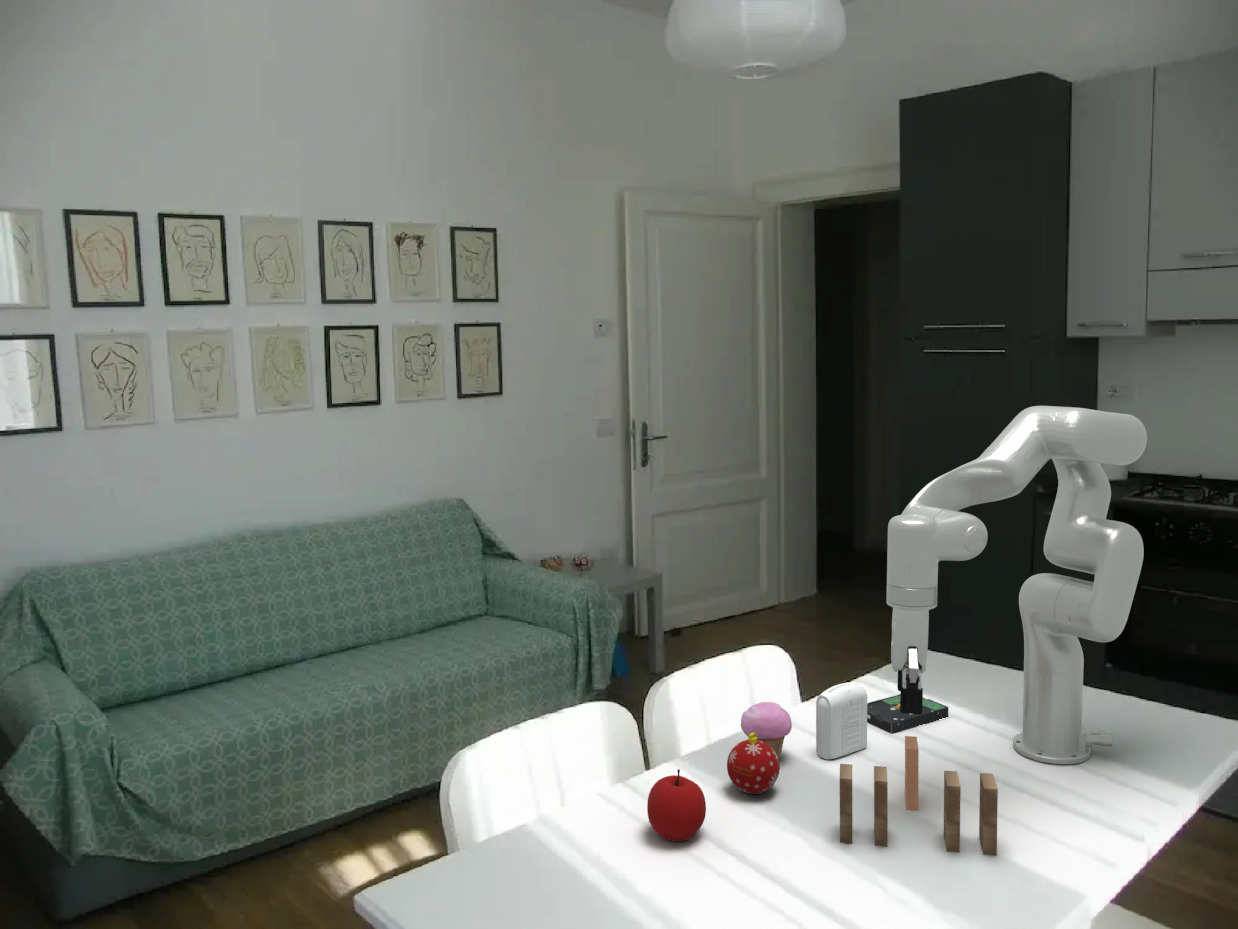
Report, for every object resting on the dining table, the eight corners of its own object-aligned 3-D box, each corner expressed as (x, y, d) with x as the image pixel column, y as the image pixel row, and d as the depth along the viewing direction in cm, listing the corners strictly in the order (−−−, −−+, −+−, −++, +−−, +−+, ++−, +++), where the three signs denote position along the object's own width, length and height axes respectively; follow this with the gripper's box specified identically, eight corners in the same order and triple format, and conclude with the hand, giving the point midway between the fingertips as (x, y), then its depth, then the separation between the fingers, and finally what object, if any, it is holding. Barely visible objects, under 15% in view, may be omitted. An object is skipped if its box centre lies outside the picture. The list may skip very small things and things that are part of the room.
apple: (637, 827, 153) (635, 765, 151) (689, 814, 156) (687, 754, 155) (663, 855, 144) (661, 790, 143) (718, 841, 148) (716, 777, 146)
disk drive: (892, 737, 184) (949, 719, 191) (892, 723, 184) (949, 705, 191) (854, 719, 193) (909, 703, 200) (854, 706, 193) (909, 689, 200)
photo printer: (853, 740, 182) (852, 675, 180) (870, 748, 178) (870, 682, 177) (812, 755, 176) (811, 688, 175) (829, 763, 173) (829, 695, 171)
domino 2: (886, 829, 149) (886, 766, 148) (887, 846, 144) (887, 781, 143) (874, 828, 150) (874, 766, 148) (874, 845, 145) (874, 780, 144)
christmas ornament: (716, 789, 164) (715, 732, 163) (754, 774, 169) (753, 718, 168) (752, 808, 157) (751, 748, 156) (790, 792, 162) (790, 734, 161)
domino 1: (852, 827, 150) (852, 764, 149) (852, 843, 146) (852, 779, 144) (840, 826, 151) (840, 763, 150) (839, 842, 146) (839, 778, 145)
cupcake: (790, 748, 179) (789, 695, 178) (793, 769, 171) (793, 713, 170) (740, 748, 180) (739, 695, 179) (741, 768, 172) (740, 713, 170)
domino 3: (916, 796, 160) (916, 736, 158) (918, 810, 155) (918, 749, 154) (904, 795, 160) (904, 736, 159) (906, 809, 155) (906, 748, 154)
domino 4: (956, 835, 147) (957, 771, 146) (959, 852, 142) (960, 786, 141) (943, 834, 147) (944, 770, 146) (946, 851, 143) (947, 785, 141)
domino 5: (991, 838, 146) (992, 773, 145) (996, 855, 141) (997, 789, 140) (979, 837, 146) (979, 773, 145) (983, 854, 141) (984, 788, 140)
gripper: (884, 581, 162) (883, 682, 164) (888, 608, 146) (886, 720, 148) (932, 583, 161) (930, 685, 163) (941, 611, 144) (939, 724, 146)
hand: (909, 701), depth 155 cm, fingers open, 9 cm apart
